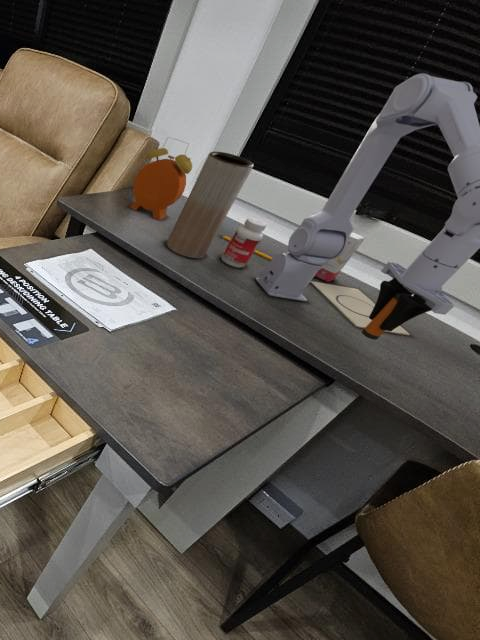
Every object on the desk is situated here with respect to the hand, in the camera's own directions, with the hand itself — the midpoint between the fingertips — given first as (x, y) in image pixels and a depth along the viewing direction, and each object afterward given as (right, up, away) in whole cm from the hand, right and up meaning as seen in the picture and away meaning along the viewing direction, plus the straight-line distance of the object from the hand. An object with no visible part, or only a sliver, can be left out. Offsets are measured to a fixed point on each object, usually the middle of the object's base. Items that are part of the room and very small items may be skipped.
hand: (379, 324), depth 86 cm
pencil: (+1, +25, +40) cm, 47 cm away
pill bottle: (-9, +20, +32) cm, 39 cm away
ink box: (+14, +18, +35) cm, 42 cm away
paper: (+16, +7, +23) cm, 29 cm away
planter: (-21, +24, +33) cm, 46 cm away
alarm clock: (-24, +41, +51) cm, 69 cm away
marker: (0, -2, +2) cm, 3 cm away
